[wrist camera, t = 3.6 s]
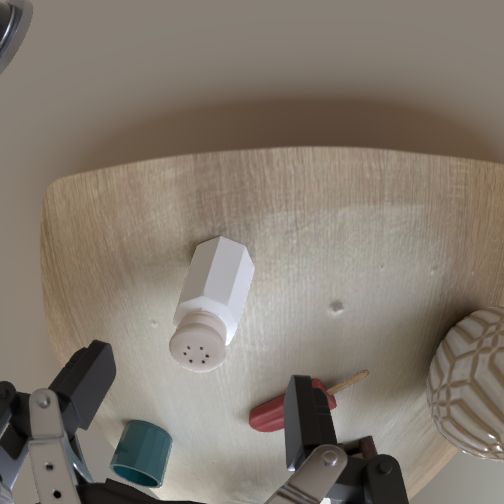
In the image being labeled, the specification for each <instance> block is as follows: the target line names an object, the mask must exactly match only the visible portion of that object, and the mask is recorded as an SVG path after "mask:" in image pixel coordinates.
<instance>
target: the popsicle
mask: <svg viewBox="0 0 504 504" xmlns="http://www.w3.org/2000/svg"><path fill="white" fill-rule="evenodd" d="M368 374H369V371H368V370H364V371H362V372H360V373H358V374H356V375H354V376H353V377H351V378H349V379H347V380H345V381H343V382H341V383H339V384H338V385H336V386H334V387H332V388H330V389H327V388H326V387H325V386H324V385H323V384H322V383H321V382H320V381H319V379H313V380H311V382H312V387H313V388H321V389H322V391H323V392H324V393H325V395H326V396H327V399H328V403H329V408H330V410H332V409H334V408H336V406H337V405H336V400H335V397H334V396H333V395H332V394H334V393H336V392H338V391H340V390H342V389H344V388H346V387H348V386H349V385H351V384H353V383H355V382H357V381H359V380H360V379H362V378H364V377H366V376H367V375H368ZM285 395H286V394H284V395H282V396H280V397H278V398H276V399H273V400H271V401H269V402H267V403H265V404H263V405H260V406H258V407H256V408H255V409H253V410H252V411H251V412H250V415H249V424H250V426H251V427H252V428H253V429H255V430H257V431H261V432H273V431H277V430H280V429H283V428H284V415H283V404H284V398H285Z"/></svg>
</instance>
